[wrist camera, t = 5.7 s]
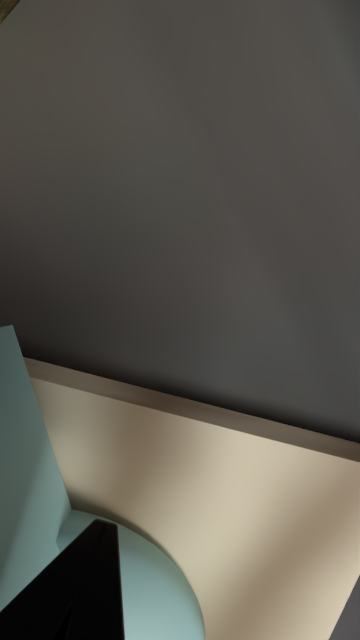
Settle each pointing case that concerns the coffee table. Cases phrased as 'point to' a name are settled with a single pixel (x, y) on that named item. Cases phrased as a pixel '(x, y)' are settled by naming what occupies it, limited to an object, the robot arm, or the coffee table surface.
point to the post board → (214, 498)
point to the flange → (72, 519)
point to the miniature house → (6, 8)
